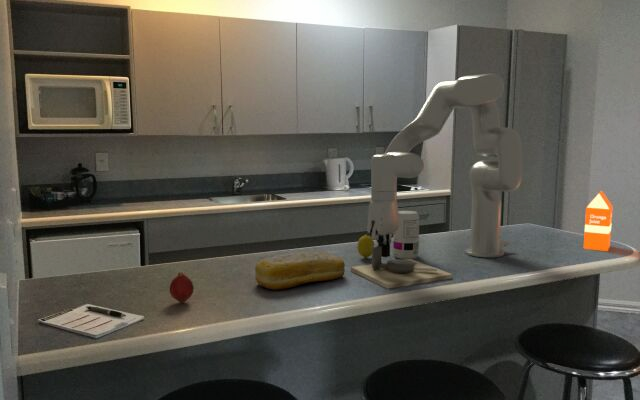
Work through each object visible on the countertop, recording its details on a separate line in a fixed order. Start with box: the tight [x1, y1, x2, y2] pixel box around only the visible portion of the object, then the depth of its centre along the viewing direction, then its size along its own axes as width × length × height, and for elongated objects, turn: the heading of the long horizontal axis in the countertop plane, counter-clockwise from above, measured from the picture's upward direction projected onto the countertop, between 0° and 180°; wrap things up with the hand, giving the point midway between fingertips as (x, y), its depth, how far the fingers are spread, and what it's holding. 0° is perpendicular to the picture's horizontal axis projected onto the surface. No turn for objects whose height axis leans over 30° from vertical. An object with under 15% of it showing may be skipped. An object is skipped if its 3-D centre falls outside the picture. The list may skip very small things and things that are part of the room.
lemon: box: [357, 234, 375, 259], centre depth 182 cm, size 6×6×8 cm
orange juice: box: [583, 190, 614, 252], centre depth 196 cm, size 8×9×20 cm
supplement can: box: [392, 210, 420, 260], centre depth 184 cm, size 8×8×15 cm
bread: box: [254, 251, 346, 291], centre depth 157 cm, size 13×26×8 cm, turn 126°
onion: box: [169, 271, 195, 304], centre depth 138 cm, size 6×6×8 cm
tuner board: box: [350, 259, 453, 290], centre depth 163 cm, size 22×20×1 cm
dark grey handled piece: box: [371, 244, 438, 273], centre depth 162 cm, size 19×8×6 cm, turn 76°
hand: (384, 256), depth 167 cm, fingers closed
